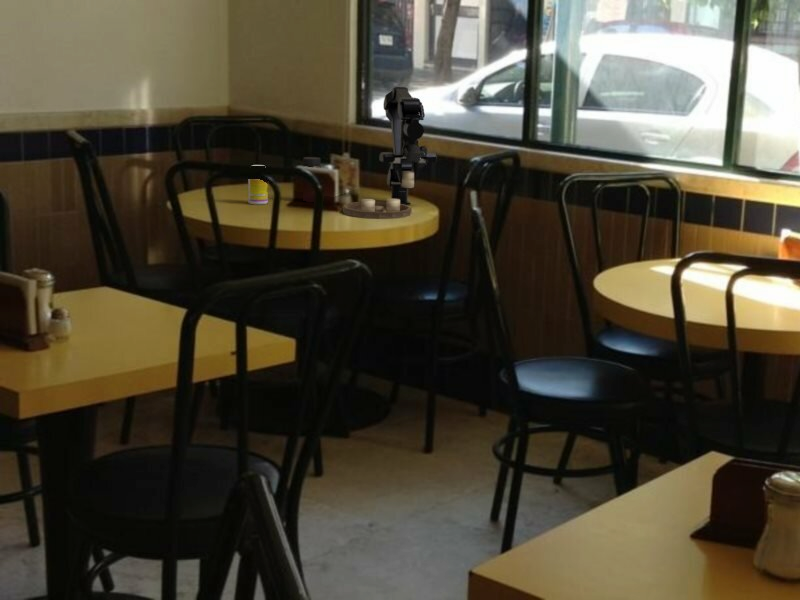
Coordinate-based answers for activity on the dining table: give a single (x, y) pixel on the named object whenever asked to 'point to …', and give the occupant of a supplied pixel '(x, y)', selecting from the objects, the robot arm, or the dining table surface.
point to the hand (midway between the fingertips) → (407, 183)
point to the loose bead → (407, 179)
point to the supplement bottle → (257, 191)
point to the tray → (375, 215)
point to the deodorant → (311, 161)
